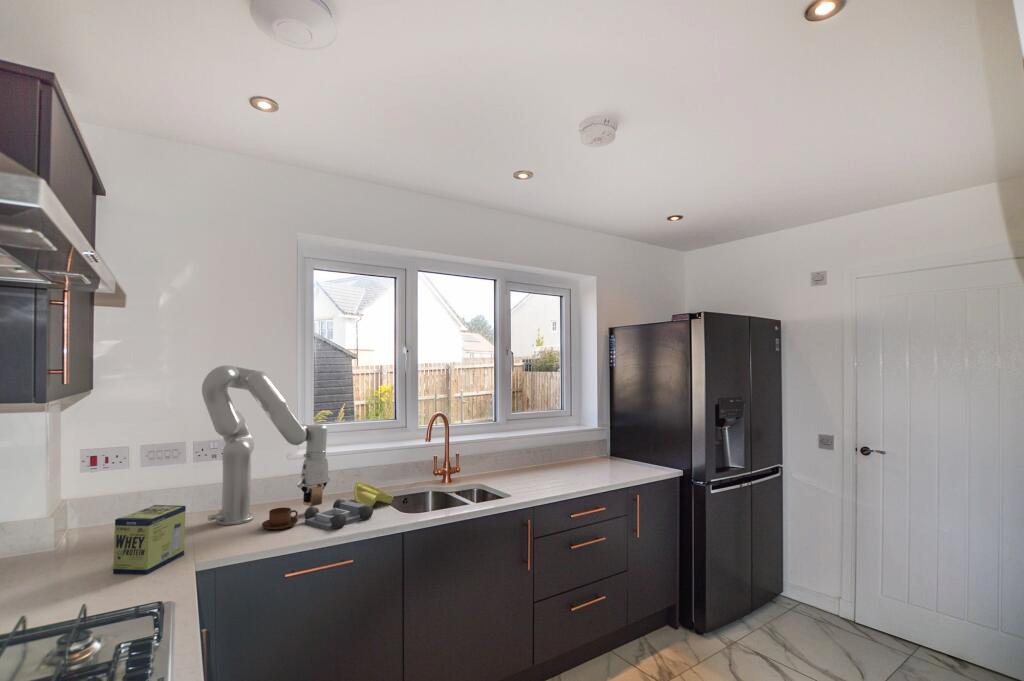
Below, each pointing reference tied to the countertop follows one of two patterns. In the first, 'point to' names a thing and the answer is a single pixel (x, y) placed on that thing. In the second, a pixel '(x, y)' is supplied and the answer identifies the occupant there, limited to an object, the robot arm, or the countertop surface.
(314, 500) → the wooden block
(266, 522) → the cup and saucer
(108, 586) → the countertop surface
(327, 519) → the chassis
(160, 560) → the protein box
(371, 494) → the plastic component
